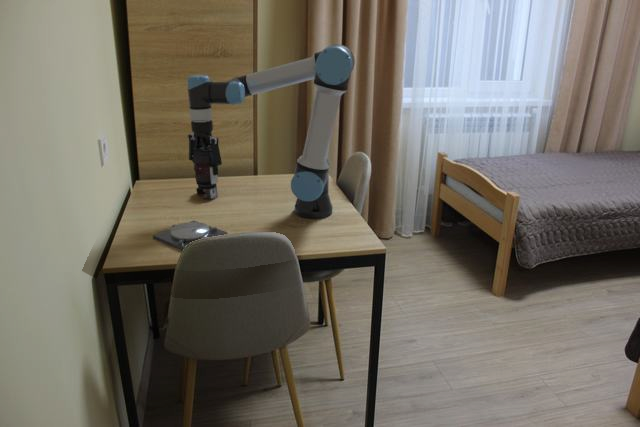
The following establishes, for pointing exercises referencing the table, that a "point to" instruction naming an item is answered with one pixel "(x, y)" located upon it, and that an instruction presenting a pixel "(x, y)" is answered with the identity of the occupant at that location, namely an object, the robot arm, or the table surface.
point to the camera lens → (202, 168)
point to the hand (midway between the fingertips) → (206, 181)
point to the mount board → (175, 243)
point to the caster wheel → (208, 193)
